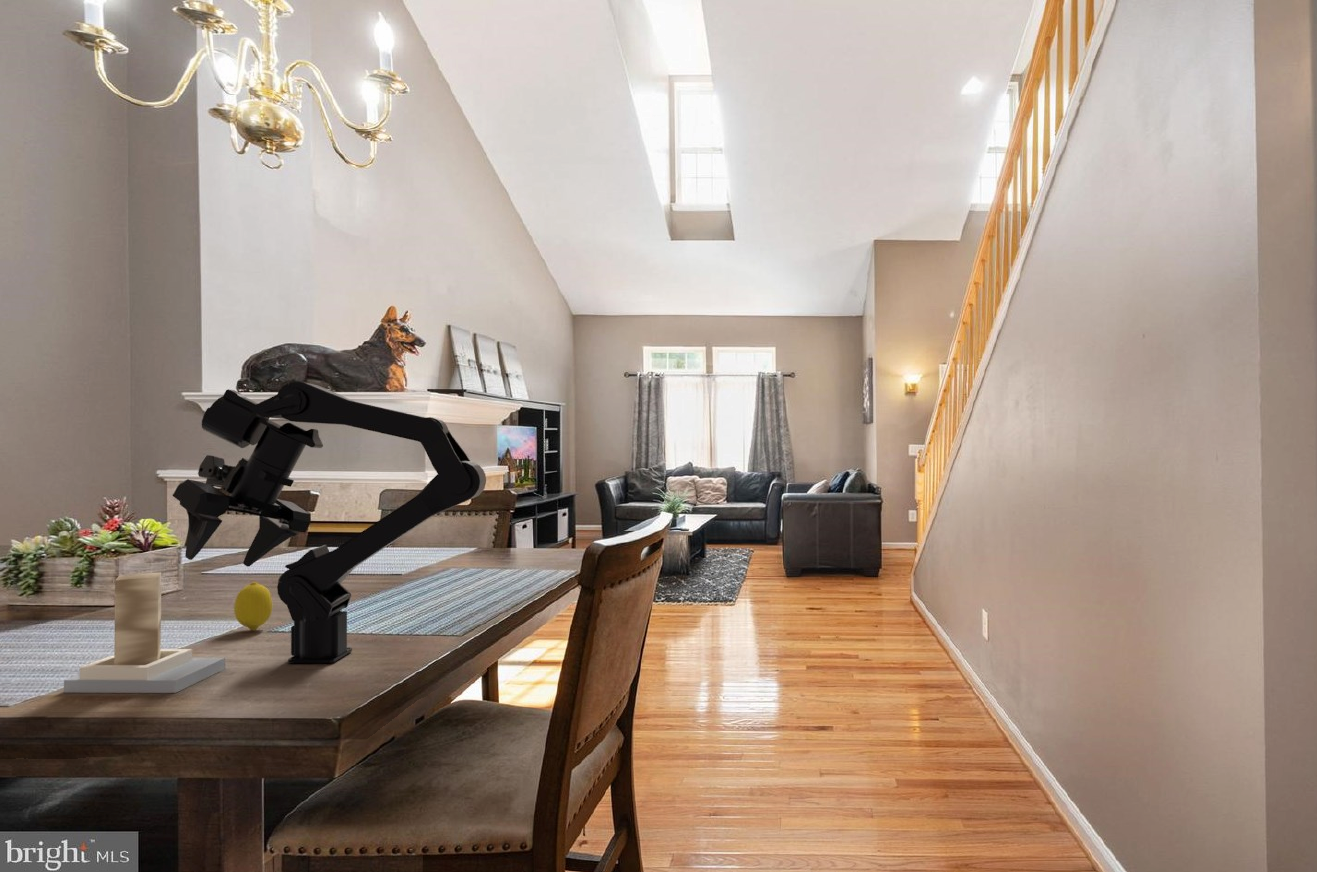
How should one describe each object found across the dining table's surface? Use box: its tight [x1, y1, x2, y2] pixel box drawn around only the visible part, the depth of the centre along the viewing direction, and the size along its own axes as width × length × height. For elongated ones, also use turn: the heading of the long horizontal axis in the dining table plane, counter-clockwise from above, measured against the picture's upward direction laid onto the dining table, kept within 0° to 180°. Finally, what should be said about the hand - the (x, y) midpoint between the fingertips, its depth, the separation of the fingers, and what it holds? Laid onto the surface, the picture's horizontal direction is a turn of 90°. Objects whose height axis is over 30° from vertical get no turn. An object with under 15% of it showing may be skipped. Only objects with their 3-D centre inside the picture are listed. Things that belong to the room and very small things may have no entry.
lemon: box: [233, 581, 274, 631], centre depth 123 cm, size 6×6×8 cm
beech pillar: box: [113, 571, 162, 665], centre depth 96 cm, size 4×4×12 cm
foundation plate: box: [63, 648, 226, 694], centre depth 97 cm, size 14×10×3 cm
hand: (218, 561), depth 105 cm, fingers open, 9 cm apart
